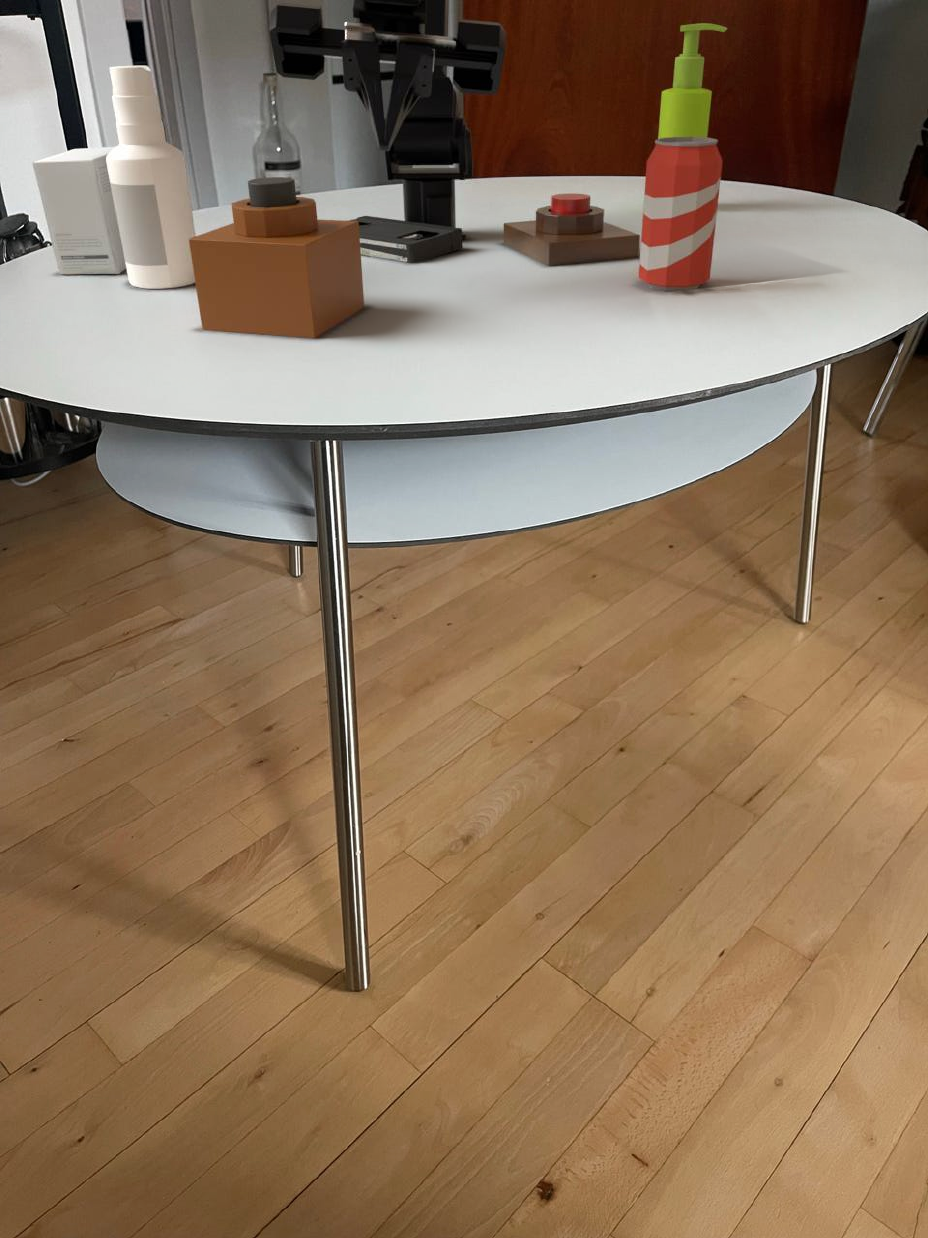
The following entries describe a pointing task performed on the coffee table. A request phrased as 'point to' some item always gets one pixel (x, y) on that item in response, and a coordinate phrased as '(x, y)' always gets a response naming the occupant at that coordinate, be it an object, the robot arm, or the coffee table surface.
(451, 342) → the coffee table surface
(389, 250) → the vhs tape
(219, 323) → the brown push button box
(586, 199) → the red button
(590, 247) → the switch box
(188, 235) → the spray bottle
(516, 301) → the coffee table surface
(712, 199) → the beverage can
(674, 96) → the soap dispenser
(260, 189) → the dark grey button
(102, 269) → the cosmetics box
